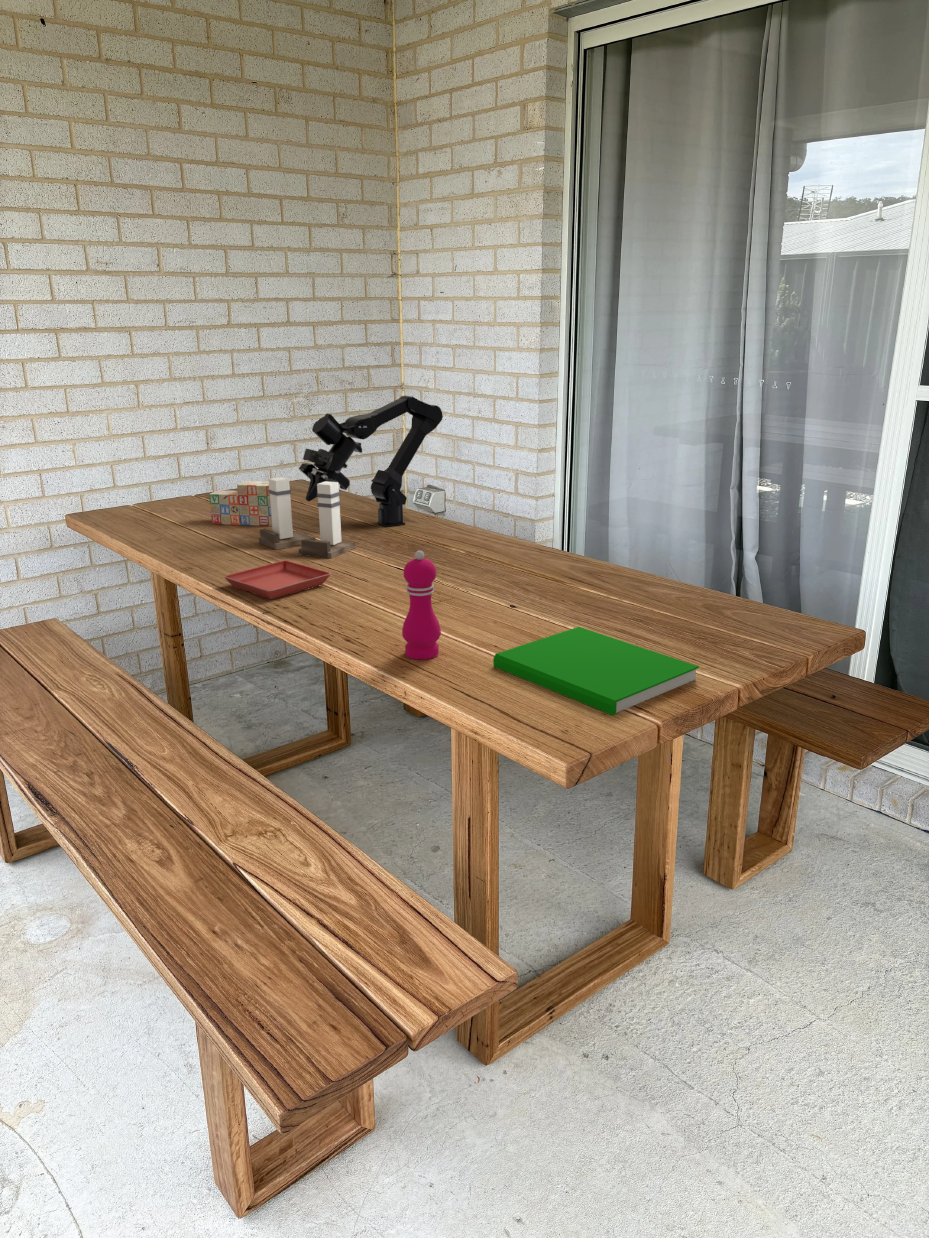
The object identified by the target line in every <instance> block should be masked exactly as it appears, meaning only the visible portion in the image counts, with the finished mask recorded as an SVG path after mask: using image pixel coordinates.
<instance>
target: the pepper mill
mask: <svg viewBox="0 0 929 1238" xmlns="http://www.w3.org/2000/svg"><path fill="white" fill-rule="evenodd" d="M436 577H437V569H436V566H435V564H434V563H433V562H432V561H431V560H429V559H427V558H425V553H424V552H423V551H422V550H417V551H415V553H414V558H413V559H411V560H409V561H408V562H406V564H405V566H404V568H403V578H404V580H405V581H406V582H407V584H406V593H407V594H408V595H409V608H408V612H407V614H406V617H405V619H404V621H403V625H402V630H401V631H402V632H401V636H402V638H403V639H404V641H405V642H406V644H405V645H404V647H405V648H404V650H405V651H404V652H405V653H404V654H405V656H406V658H409V659H413V660H429V659H433V658H435V657H438V655H439V649H440V648H439V643H438V642H437V641H438V640H439V639H440V637H441V634H442V631H441V624H440V622H439V619H438V618H437V616H436V614H435V612H434V609H433V605H432V604H433V603H432V594H434V593H435V589H434V588H435V585H434V584H433V582H434V581H435V579H436Z"/></svg>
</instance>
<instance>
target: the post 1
mask: <svg viewBox="0 0 929 1238" xmlns="http://www.w3.org/2000/svg"><path fill="white" fill-rule="evenodd" d="M268 481H269V494H270V504H271V517H272V526H271V528H272V530H271V531H273V532H275V533H278V534H279V539H284V538H290V537H293V532H294V531H293V529H294V528H293V516H292V515H293V514H292V504H291V502H292V501H291V493H292V491H291V488H290V487H291V486H290V479H289V478H288V477H283V476H280V477H272V478H268Z"/></svg>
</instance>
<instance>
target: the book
mask: <svg viewBox="0 0 929 1238" xmlns="http://www.w3.org/2000/svg"><path fill="white" fill-rule="evenodd" d="M492 659H493V660H492V661H493V665H492V666H493V667H494V668H496V669H498V670H500V671H503V672H505V673H508V674H510V675H513V676H515V677H518V678H521V679H523V680H526V681H527V682H529V683H533V684H535V685H538V686H540V687H542V688H545V689H547V690H550V691H551V692H554V693H557V694H559V695H562V696H564V697H567V698H569V699H572V700H574V701H577V702H579V703H581V704H584V705H586V706H588V707H591V708H594V709H595V710H598V711H601V712H603V713H606V714H608V715H611V716H615V715H617V713H619V712H622V711H624V710H626V709H629V708H631V707H634V706H635V705H639V704H641V703H643V702H645V700H646V701H648V700H650V699H652V698H656V697H657V696H659V695H662V694H664V693H666V692H669V691H672V690H674V689H676V688H679V687H681V686H684V685H687V684H688V683H691V682H693V681H695V680H696V677H697V676H696V674H697V670H698V669H700V666H699V665H696V664H693V663H691V662H690V663H689V662H688V661H684V660H681V659H678V658H675V657H672V656H669V655H666V654H663V653H660V652H656V651H653V650H651V649H648V648H645V647H642V646H639V645H636V644H633V643H629V642H626V641H623V640H622V639H621V640H620V639H617V638H615V637H611V636H609V635H605V634H603V633H599V632H597V631H594V630H591V629H588V628H584V627H581V626H577V627H573V628H570V629H567V630H565V631H561V632H558V633H554V634H552V635H548V636H545V637H542V638H539V639H537V640H533V641H531V642H527V643H525V644H522V645H518V646H515V647H512V648H509V649H506V650H503V651H500V652H498V653H495V655H494V656H493V658H492ZM690 681H691V682H690Z"/></svg>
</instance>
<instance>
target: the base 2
mask: <svg viewBox="0 0 929 1238" xmlns="http://www.w3.org/2000/svg"><path fill="white" fill-rule="evenodd" d="M341 541H342V542H339V543H337V544H335V545H330V542H327V541H321V540H317V539H315V540H309V539H303V540H301V545H300V546H301V548H298V555H299V554H301V555H300V556H306V555H310V556H309V557H314V556H318V557H317V558H322V557H326V558H325V559H333V557H334V558H336V557H337V555H338V556H340V555H342V553H343V554H344V552H345V553H347V552H349V551H352V550H353V548H354V549H356V542H354V541H345V540H341ZM351 549H352V550H351ZM339 554H340V555H339ZM335 556H336V557H335Z"/></svg>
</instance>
